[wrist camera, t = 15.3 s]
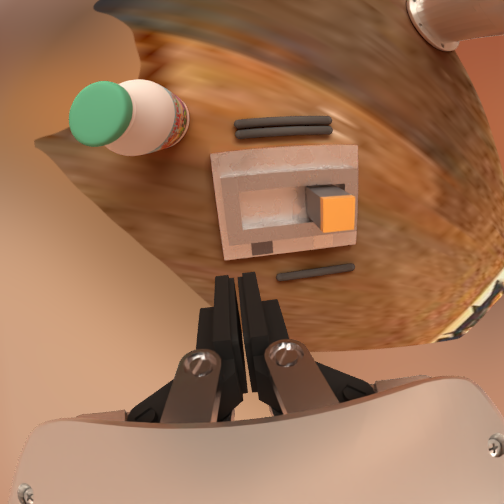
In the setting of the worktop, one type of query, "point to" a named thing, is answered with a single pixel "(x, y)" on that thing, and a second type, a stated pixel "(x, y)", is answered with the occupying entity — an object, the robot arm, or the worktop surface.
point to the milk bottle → (128, 117)
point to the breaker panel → (279, 197)
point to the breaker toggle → (330, 208)
